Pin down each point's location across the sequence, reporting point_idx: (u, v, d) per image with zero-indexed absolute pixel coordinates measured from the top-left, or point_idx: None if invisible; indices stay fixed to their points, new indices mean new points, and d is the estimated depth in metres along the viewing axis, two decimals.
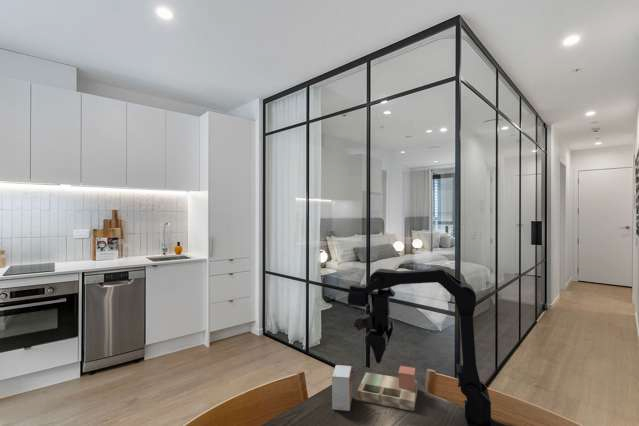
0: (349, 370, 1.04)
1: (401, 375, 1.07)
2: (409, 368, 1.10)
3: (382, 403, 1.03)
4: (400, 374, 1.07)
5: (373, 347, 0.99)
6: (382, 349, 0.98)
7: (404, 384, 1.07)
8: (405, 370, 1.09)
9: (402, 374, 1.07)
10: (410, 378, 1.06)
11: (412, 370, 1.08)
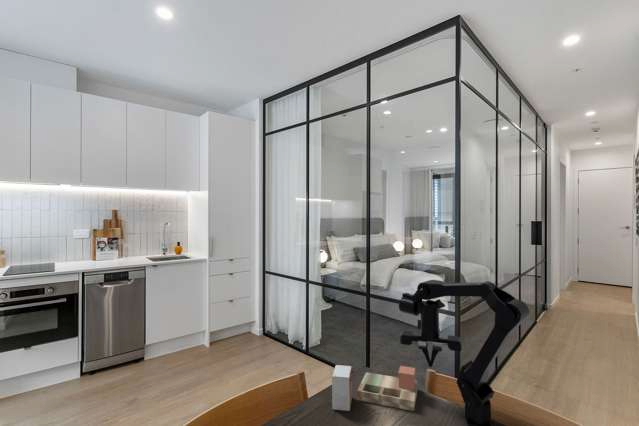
0: (349, 370, 1.04)
1: (401, 375, 1.07)
2: (409, 368, 1.10)
3: (382, 403, 1.03)
4: (400, 374, 1.07)
5: None
6: None
7: (404, 384, 1.07)
8: (405, 370, 1.09)
9: (402, 374, 1.07)
10: (410, 378, 1.06)
11: (412, 370, 1.08)
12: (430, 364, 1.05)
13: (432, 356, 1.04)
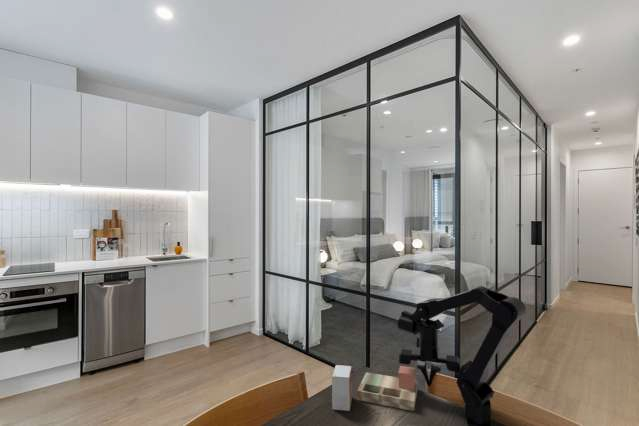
0: (349, 370, 1.04)
1: (401, 375, 1.07)
2: (409, 368, 1.10)
3: (382, 403, 1.03)
4: (400, 374, 1.07)
5: None
6: None
7: (404, 384, 1.07)
8: (405, 370, 1.09)
9: (402, 374, 1.07)
10: (410, 378, 1.06)
11: (412, 370, 1.08)
12: (429, 384, 1.06)
13: (431, 376, 1.04)
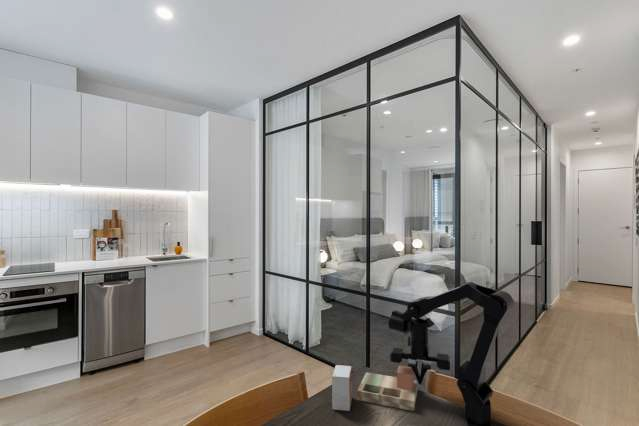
0: (349, 370, 1.04)
1: (400, 375, 1.07)
2: (407, 368, 1.10)
3: (382, 403, 1.03)
4: (398, 374, 1.07)
5: None
6: None
7: (402, 384, 1.07)
8: (403, 369, 1.09)
9: (400, 374, 1.07)
10: (409, 377, 1.06)
11: (410, 370, 1.09)
12: (419, 382, 1.07)
13: (421, 374, 1.05)
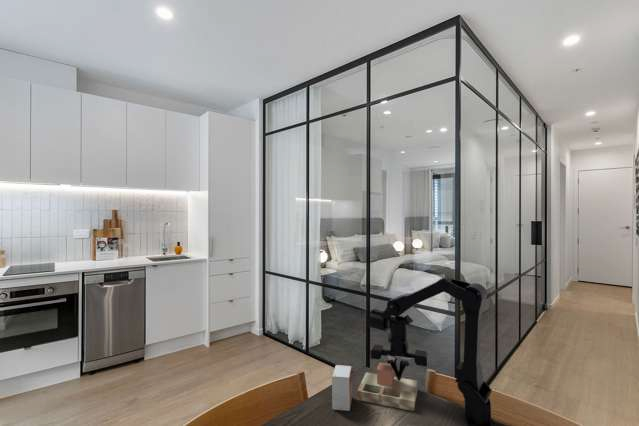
0: (349, 370, 1.04)
1: (380, 372, 1.10)
2: (387, 365, 1.12)
3: (382, 403, 1.03)
4: (378, 371, 1.10)
5: None
6: None
7: (382, 380, 1.09)
8: (383, 366, 1.12)
9: (380, 370, 1.10)
10: (388, 374, 1.09)
11: (390, 367, 1.11)
12: (398, 378, 1.09)
13: (400, 370, 1.08)
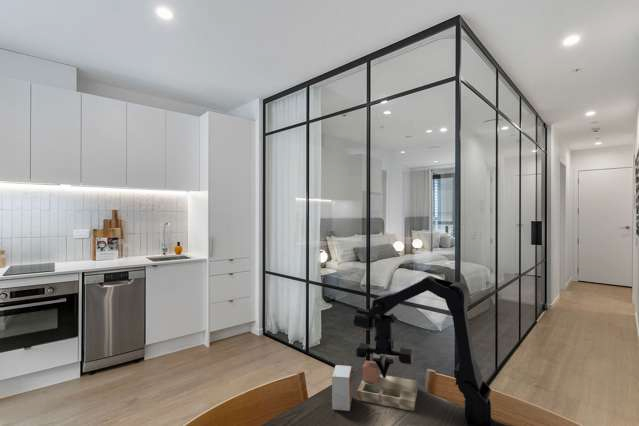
0: (349, 370, 1.04)
1: (365, 369, 1.11)
2: (373, 363, 1.14)
3: (382, 403, 1.03)
4: (364, 368, 1.12)
5: None
6: None
7: (367, 378, 1.11)
8: (369, 364, 1.13)
9: (366, 368, 1.11)
10: (374, 372, 1.10)
11: (375, 365, 1.13)
12: (383, 375, 1.11)
13: (385, 368, 1.10)
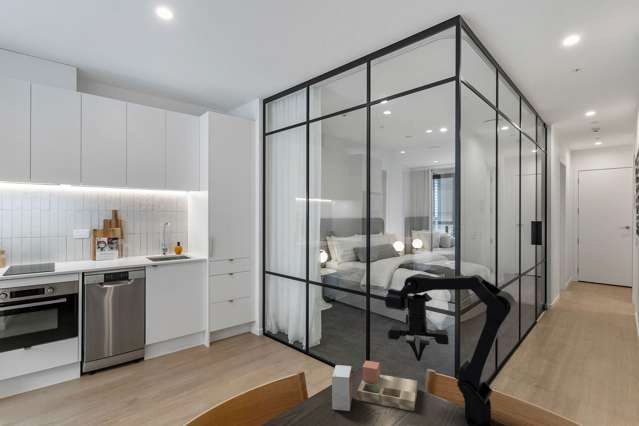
0: (349, 370, 1.04)
1: (365, 369, 1.11)
2: (373, 363, 1.14)
3: (382, 403, 1.03)
4: (364, 368, 1.12)
5: None
6: None
7: (367, 378, 1.11)
8: (369, 364, 1.13)
9: (366, 368, 1.11)
10: (374, 372, 1.10)
11: (375, 365, 1.13)
12: (418, 358, 1.05)
13: (420, 350, 1.04)
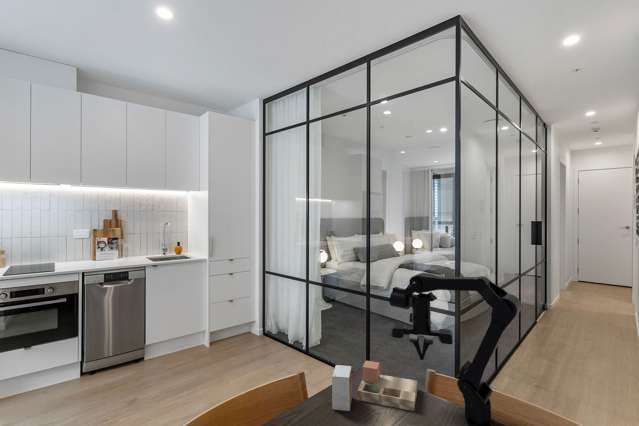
0: (349, 370, 1.04)
1: (365, 369, 1.11)
2: (373, 363, 1.14)
3: (382, 403, 1.03)
4: (364, 368, 1.12)
5: None
6: None
7: (367, 378, 1.11)
8: (369, 364, 1.13)
9: (366, 368, 1.11)
10: (374, 372, 1.10)
11: (375, 365, 1.13)
12: (421, 357, 1.05)
13: (423, 349, 1.04)
